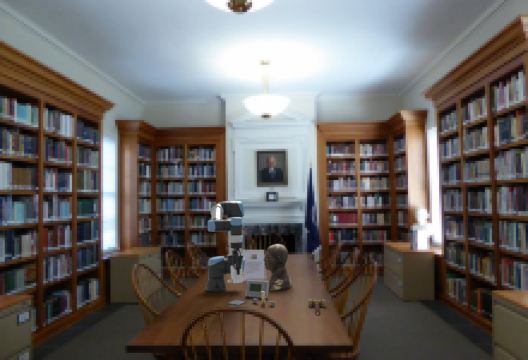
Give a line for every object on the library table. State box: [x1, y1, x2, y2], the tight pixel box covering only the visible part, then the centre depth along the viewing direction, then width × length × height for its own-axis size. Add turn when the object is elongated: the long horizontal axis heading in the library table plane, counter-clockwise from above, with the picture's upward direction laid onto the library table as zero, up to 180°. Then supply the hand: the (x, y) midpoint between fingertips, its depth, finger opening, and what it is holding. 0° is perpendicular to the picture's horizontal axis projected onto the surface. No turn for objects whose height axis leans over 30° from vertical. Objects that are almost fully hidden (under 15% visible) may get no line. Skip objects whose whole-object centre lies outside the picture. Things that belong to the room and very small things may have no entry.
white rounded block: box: [227, 264, 247, 284], centre depth 245 cm, size 12×6×11 cm, turn 108°
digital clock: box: [244, 279, 270, 299], centre depth 260 cm, size 16×9×11 cm, turn 59°
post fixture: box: [252, 291, 275, 307], centre depth 241 cm, size 15×2×8 cm, turn 58°
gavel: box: [308, 298, 326, 316], centre depth 227 cm, size 21×5×10 cm
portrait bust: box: [263, 243, 292, 291], centre depth 294 cm, size 21×35×31 cm, turn 174°
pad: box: [227, 299, 246, 307], centre depth 244 cm, size 8×8×1 cm
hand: (236, 278), depth 244 cm, fingers closed on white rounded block, 6 cm apart
